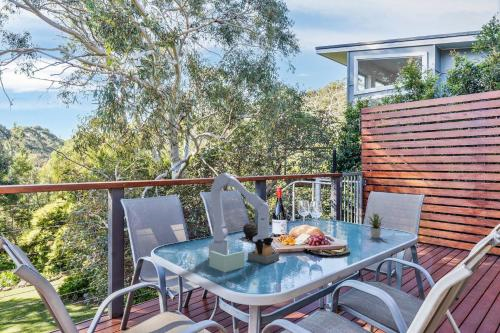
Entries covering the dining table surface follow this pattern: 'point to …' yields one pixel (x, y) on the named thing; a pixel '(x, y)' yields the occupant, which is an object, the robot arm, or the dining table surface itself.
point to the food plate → (332, 251)
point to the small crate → (265, 250)
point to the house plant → (375, 226)
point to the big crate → (263, 257)
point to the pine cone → (250, 230)
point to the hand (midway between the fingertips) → (263, 253)
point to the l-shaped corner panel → (226, 261)
